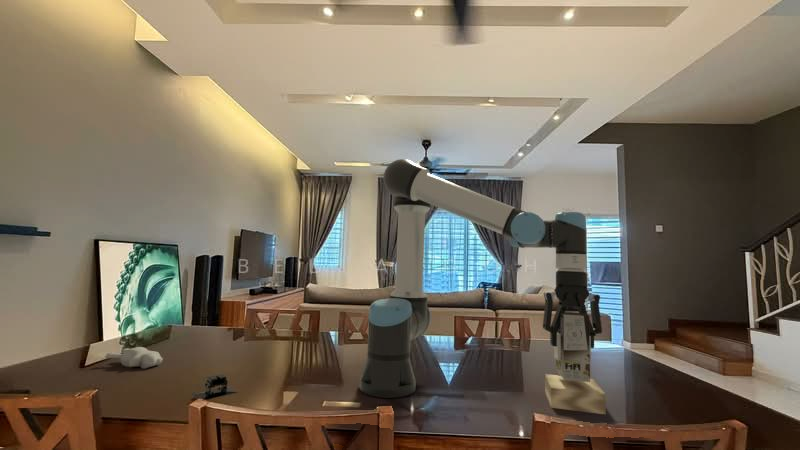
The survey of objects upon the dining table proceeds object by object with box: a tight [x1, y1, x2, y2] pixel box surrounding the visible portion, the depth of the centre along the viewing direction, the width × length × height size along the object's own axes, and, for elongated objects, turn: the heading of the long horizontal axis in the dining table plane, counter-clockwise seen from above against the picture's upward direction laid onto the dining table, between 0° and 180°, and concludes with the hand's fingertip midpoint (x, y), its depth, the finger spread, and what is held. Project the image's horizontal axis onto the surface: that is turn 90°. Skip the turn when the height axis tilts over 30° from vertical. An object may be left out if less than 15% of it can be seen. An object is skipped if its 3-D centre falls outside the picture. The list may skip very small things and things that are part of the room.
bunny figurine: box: [104, 346, 164, 369], centre depth 112 cm, size 10×5×15 cm
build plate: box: [191, 373, 239, 400], centre depth 92 cm, size 12×7×5 cm, turn 136°
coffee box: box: [555, 310, 591, 382], centre depth 95 cm, size 9×6×16 cm
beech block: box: [544, 373, 607, 415], centre depth 94 cm, size 12×12×5 cm
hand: (572, 359), depth 95 cm, fingers closed on coffee box, 7 cm apart
